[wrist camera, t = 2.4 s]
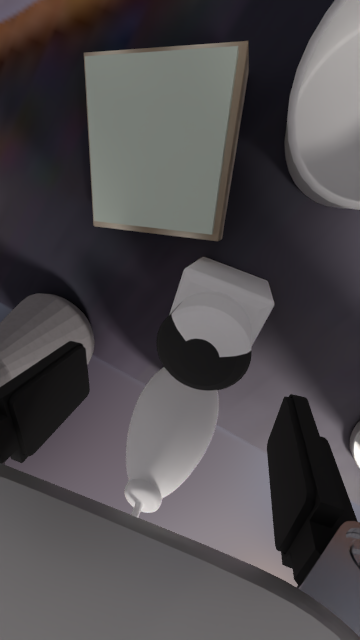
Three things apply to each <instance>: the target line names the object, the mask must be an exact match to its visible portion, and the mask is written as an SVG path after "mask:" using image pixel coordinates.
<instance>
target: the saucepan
mask: <svg viewBox="0 0 360 640" xmlns="http://www.w3.org/2000/svg"><path fill="white" fill-rule="evenodd" d="M284 145H285V159H286V163H287V166H288V170H289V173H290V175H291V177H292V179H293V181H294V183H295V184H296V186H297V187H298V188H299V189H300V190H301V191H302V192H303V194H304V195H306V196H307V197H309V198H310V199H312V200H313V201H315V202H317V203H320V204H322V205H325V206H328V207H335V208H341V209H342V208H350V209H356V210H360V0H335V1H334V2H333V4H332V5H331V6H330V7H329V9H328V10H327V11H326V13H325V15H324V16H323V18H322V20H321V21H320V23H319V25H318V26H317V28H316V30H315V31H314V33H313V35H312V36H311V38H310V40H309V42H308V44H307V47H306V49H305V51H304V54H303V56H302V58H301V61H300V63H299V65H298V68H297V71H296V74H295V78H294V82H293V85H292V89H291V93H290V98H289V107H288V115H287V125H286V133H285V142H284Z"/></svg>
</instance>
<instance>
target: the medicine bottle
mask: <svg viewBox="0 0 360 640" xmlns="http://www.w3.org/2000/svg"><path fill="white" fill-rule="evenodd" d="M274 304H275V303H274V300H273V296H272V293H271V289H270V286H269V283H268V281H267V280H264V279H262V278H259V277H256V276H254V275H251V274H249V273H246V272H243V271H241V270H238V269H235V268H233V267H230V266H227V265H225V264H222V263H220V262H217V261H214V260H212V259H209V258H206V257H202V258H200V259H199V260H197V261H196V262H194V263H192V264H191V265H189V266H188V267H186V268H185V269H184V271H183V274H182V277H181V280H180V283H179V286H178V289H177V292H176V296H175V299H174V302H173V305H172V308H171V311H170V314H169V316H168V317H167V318H166V319H165V321H164V322H163V323H162V325H161V327H160V329H159V331H158V335H157V351H158V355H159V358H160V360H161V362H162V364H163V366H164V367H165V369H166V370H167V371H168V372H169V373H170V374H171V375H172V376H173V377H174V378H175V379H176V380H178V381H179V382H180V383H182V384H184V385H186V386H188V387H191V388H194V389H198V390H206V391H211V390H220V389H224V388H227V387H229V386H231V385H233V384H235V383H236V382H237V381H239V380H240V379H241V378H242V377H243V375H244V374H245V373H246V371H247V369H248V367H249V364H250V361H251V347H252V345H253V343H254V341H255V340H256V338H257V336H258V334H259V332H260V331H261V329H262V327H263V325H264V323H265V321H266V320H267V318H268V316H269V314H270V312H271V311H272V309H273V307H274Z"/></svg>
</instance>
